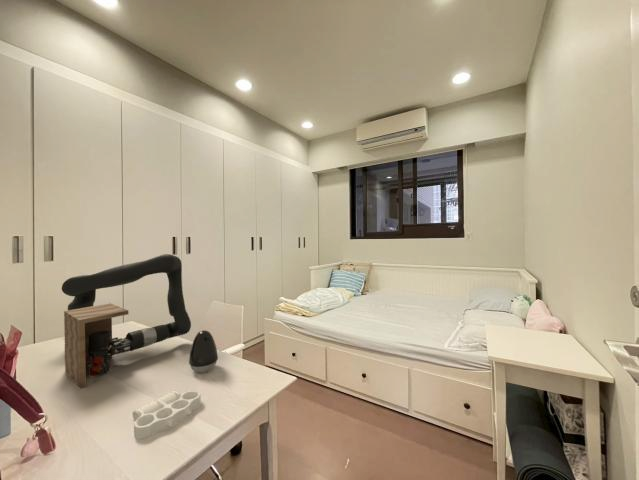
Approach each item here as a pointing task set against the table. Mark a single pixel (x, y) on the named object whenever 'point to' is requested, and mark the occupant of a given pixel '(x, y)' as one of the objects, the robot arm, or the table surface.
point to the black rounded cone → (203, 352)
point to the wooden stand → (85, 336)
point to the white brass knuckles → (164, 413)
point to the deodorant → (103, 362)
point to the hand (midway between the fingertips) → (91, 352)
